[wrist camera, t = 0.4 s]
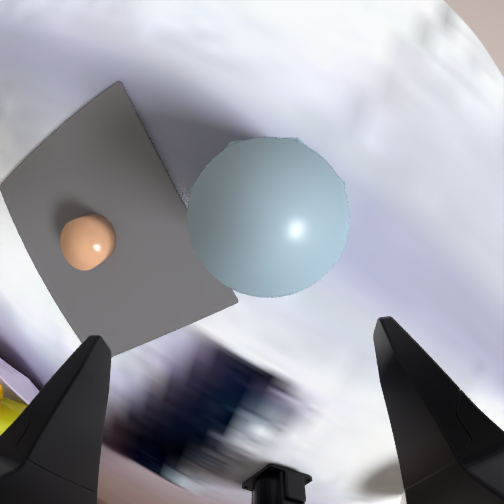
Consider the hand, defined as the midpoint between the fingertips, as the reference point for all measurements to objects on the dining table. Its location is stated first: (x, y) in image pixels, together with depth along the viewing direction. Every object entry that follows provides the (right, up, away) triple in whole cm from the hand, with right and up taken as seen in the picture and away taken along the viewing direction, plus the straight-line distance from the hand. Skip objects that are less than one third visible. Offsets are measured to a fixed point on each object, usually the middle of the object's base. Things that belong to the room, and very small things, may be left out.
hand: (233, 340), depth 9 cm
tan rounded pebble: (-12, +4, +14) cm, 19 cm away
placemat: (-12, +4, +15) cm, 20 cm away
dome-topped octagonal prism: (+2, +7, +14) cm, 15 cm away
